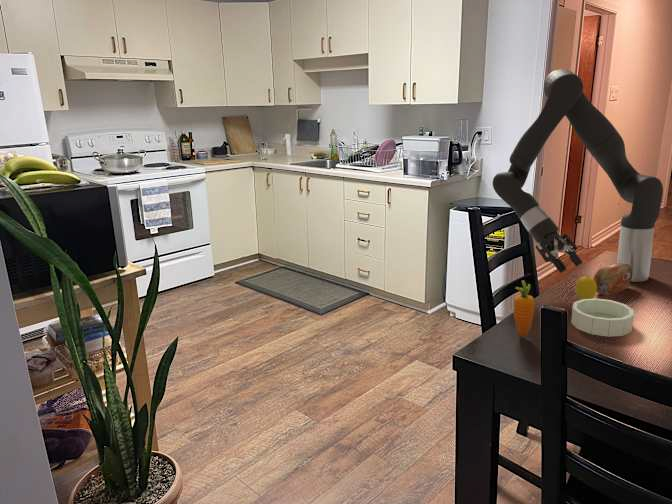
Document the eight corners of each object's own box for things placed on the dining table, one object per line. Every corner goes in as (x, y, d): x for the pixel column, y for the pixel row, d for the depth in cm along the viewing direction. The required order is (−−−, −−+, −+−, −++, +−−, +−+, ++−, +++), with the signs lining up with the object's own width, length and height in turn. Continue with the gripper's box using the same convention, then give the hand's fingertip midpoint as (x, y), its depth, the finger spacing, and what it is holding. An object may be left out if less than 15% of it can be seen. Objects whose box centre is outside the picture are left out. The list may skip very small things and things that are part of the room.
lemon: (597, 305, 145) (600, 278, 143) (576, 304, 147) (579, 278, 144) (592, 298, 151) (594, 272, 148) (572, 297, 152) (574, 272, 150)
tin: (599, 298, 150) (602, 271, 148) (590, 295, 153) (592, 268, 151) (631, 287, 157) (634, 261, 154) (622, 285, 159) (624, 259, 157)
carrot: (530, 343, 125) (533, 286, 121) (509, 339, 128) (512, 284, 124) (534, 335, 129) (538, 280, 125) (514, 332, 132) (517, 277, 128)
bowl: (592, 309, 142) (593, 294, 141) (643, 326, 131) (645, 310, 130) (560, 322, 136) (561, 307, 134) (610, 341, 124) (612, 324, 123)
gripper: (533, 221, 148) (568, 266, 143) (560, 213, 156) (594, 256, 151) (517, 235, 154) (549, 280, 148) (543, 227, 162) (575, 269, 156)
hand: (572, 267), depth 150 cm, fingers open, 8 cm apart
